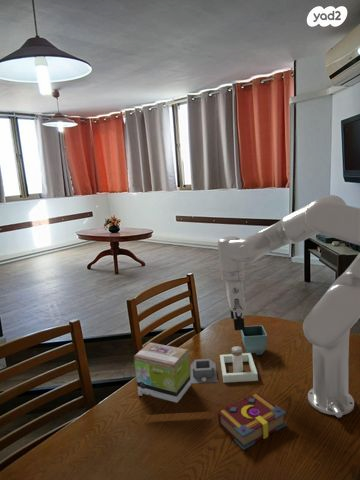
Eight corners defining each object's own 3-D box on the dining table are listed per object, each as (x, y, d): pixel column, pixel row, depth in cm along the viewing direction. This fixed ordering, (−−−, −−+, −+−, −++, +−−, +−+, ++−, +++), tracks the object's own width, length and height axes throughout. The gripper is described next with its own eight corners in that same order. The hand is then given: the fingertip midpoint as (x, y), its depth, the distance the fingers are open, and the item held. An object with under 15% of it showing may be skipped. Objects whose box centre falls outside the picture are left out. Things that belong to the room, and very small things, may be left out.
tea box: (137, 396, 114) (132, 355, 112) (153, 379, 123) (149, 340, 120) (178, 407, 107) (173, 363, 104) (192, 388, 116) (188, 347, 113)
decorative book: (217, 425, 99) (216, 409, 98) (261, 403, 106) (260, 388, 105) (244, 451, 89) (243, 434, 88) (289, 425, 97) (289, 408, 96)
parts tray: (258, 384, 115) (257, 373, 114) (223, 386, 116) (223, 375, 115) (251, 362, 128) (250, 352, 127) (220, 364, 129) (219, 354, 128)
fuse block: (217, 385, 116) (217, 373, 115) (190, 387, 117) (189, 375, 116) (215, 366, 128) (214, 354, 127) (190, 367, 128) (189, 356, 128)
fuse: (243, 374, 120) (242, 351, 118) (233, 374, 120) (232, 351, 118) (242, 368, 123) (241, 346, 121) (232, 369, 123) (231, 346, 122)
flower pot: (268, 357, 131) (267, 335, 129) (244, 359, 131) (243, 336, 129) (263, 346, 139) (262, 324, 138) (241, 347, 140) (239, 326, 138)
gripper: (248, 280, 106) (253, 333, 109) (240, 266, 123) (245, 312, 126) (223, 283, 107) (229, 336, 109) (219, 269, 124) (224, 315, 126)
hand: (237, 323), depth 118 cm, fingers open, 9 cm apart
